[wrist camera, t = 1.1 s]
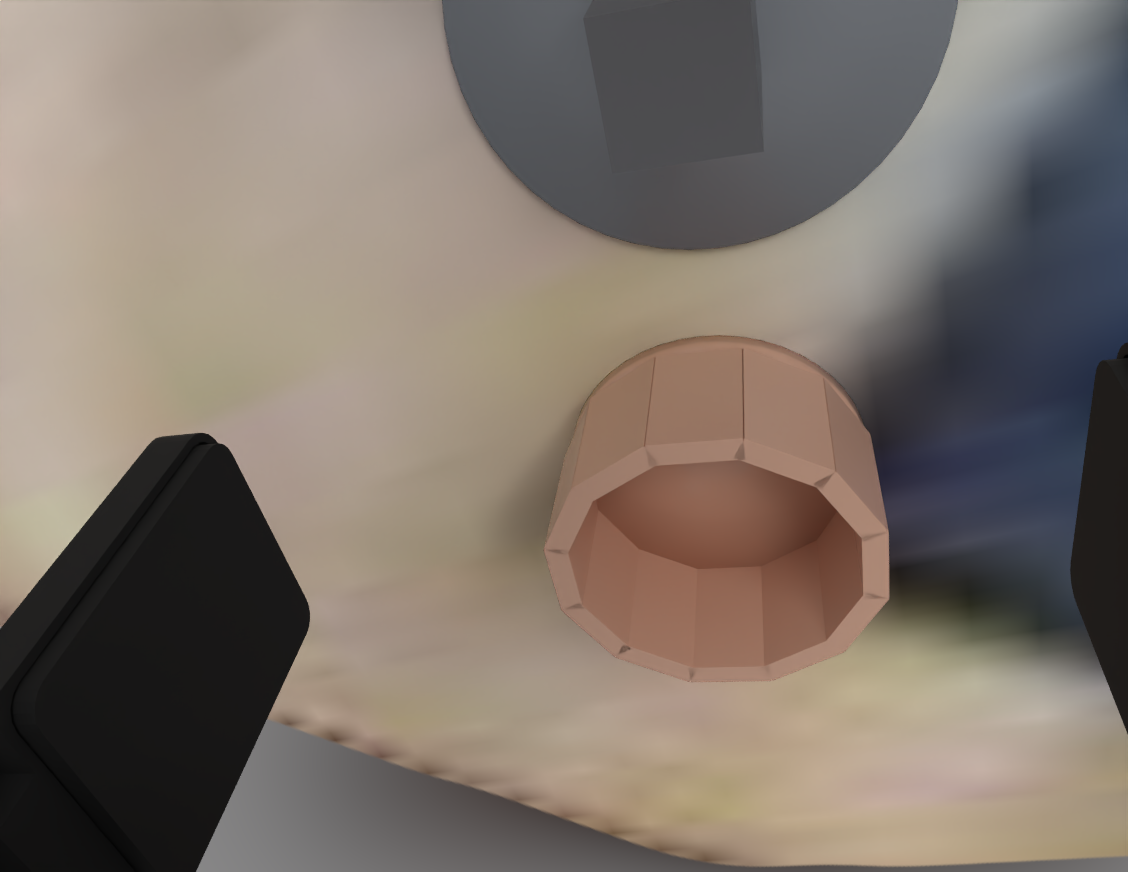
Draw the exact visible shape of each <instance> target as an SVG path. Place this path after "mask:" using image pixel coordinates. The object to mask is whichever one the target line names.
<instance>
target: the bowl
mask: <svg viewBox="0 0 1128 872" xmlns="http://www.w3.org/2000/svg"><path fill="white" fill-rule="evenodd" d="M544 553H545V556H546V560H547V563H548V567H549V570H550V573H551V577H552V580H553V584H554V587H555V590H556V594H557V597H558V601H559V604H560V607H561V610H562V611H563V612H564V613H565V614H566V615H567V616H568V617H570V618H571V619H572V620H573V621H574V622H575V623H576V624H578V625H579V626H580V627H581V628H582V629H583V630H584V631H586V632H587V633H588V634H589V635H590V636H591V637H592V638H593V639H595V640H596V641H597V642H598V643H599V644H600V645H601V646H603V647H604V648H605V649H606V650H607V651H608V652H609V653H611V654H612V655H613V656H614V657H615V656H616V658H619V659H622V660H625V661H628V662H631V663H634V664H637V665H640V666H643V667H646V668H649V669H652V670H655V671H658V672H661V673H664V674H667V675H670V676H673V677H676V678H679V679H682V680H685V681H688V682H690V681H691V682H733V681H771V679H772V680H776V679H778V678H781V677H783V676H786V675H788V674H791V673H793V672H796V671H798V670H801V669H803V668H806V667H808V666H811V665H813V664H816V663H818V662H821V661H823V660H826V659H828V658H831V657H833V656H836V655H838V654H841V653H843V652H844V651H846V650H847V648H848V647H849V646H850V645H851V644H852V642H853V641H854V640H855V639H856V638H857V637H858V635H859V634H860V633H861V632H862V631H863V629H864V628H865V627H866V626H867V625H868V623H869V622H870V621H871V620H872V619H873V617H874V616H875V615H876V614H877V613H878V611H879V610H880V609H881V608H882V607H883V606H884V604H885V603H886V602H887V601H888V600H889V531H888V526H887V520H886V515H885V510H884V504H883V499H882V494H881V488H880V483H879V478H878V472H877V467H876V462H875V456H874V451H873V446H872V440H871V435H870V433H869V432H868V431H867V429H866V428H865V427H864V425H863V421H862V418H861V416H860V414H859V412H858V410H857V408H856V406H855V404H854V402H853V401H852V399H851V398H850V397H849V395H848V394H847V392H846V391H845V389H844V388H843V387H842V386H841V385H840V384H839V383H838V382H837V381H836V380H835V379H834V378H833V377H832V376H831V375H830V374H828V373H827V372H826V371H825V370H823V369H822V368H821V367H820V366H818V365H817V364H815V363H813V362H812V361H810V360H808V359H807V358H805V357H803V356H802V355H800V354H798V353H795V352H793V351H791V350H788V349H786V348H784V347H781V346H778V345H775V344H771V343H768V342H765V341H761V340H755V339H750V338H744V337H734V336H700V337H693V338H687V339H681V340H676V341H673V342H669V343H665V344H662V345H659V346H656V347H654V348H651V349H649V350H646V351H644V352H642V353H640V354H638V355H636V356H634V357H633V358H631V359H629V360H627V361H625V362H624V363H623V364H621V365H620V366H619V367H617V368H616V369H615V370H613V371H612V372H611V373H609V374H608V375H607V376H606V377H605V378H604V379H603V380H602V381H601V382H600V383H599V384H598V385H597V387H596V388H595V389H594V391H593V392H592V393H591V395H590V396H589V397H588V399H587V401H586V403H585V405H584V407H583V408H582V410H581V412H580V415H579V418H578V421H577V424H576V427H575V432H574V436H573V438H572V441H571V443H570V445H569V448H568V450H567V452H566V455H565V457H564V462H563V466H562V471H561V475H560V479H559V484H558V488H557V493H556V497H555V501H554V506H553V510H552V515H551V519H550V524H549V528H548V532H547V537H546V541H545V546H544Z"/></svg>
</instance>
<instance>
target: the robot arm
mask: <svg viewBox="0 0 1128 872" xmlns="http://www.w3.org/2000/svg"><path fill="white" fill-rule="evenodd" d="M1070 572H1071V583H1072V589H1073V594H1074V597H1075V601H1076V604H1077V606H1078V609H1079V611H1080V614H1081V616H1082V619H1083V621H1084V624H1085V626H1086V629H1087V632H1088V634H1089V637H1090V639H1091V642H1092V644H1093V647H1094V649H1095V652H1096V654H1097V657H1098V659H1099V662H1100V665H1101V667H1102V670H1103V672H1104V675H1105V677H1106V680H1107V682H1108V685H1109V687H1110V690H1111V693H1112V695H1113V698H1114V700H1115V703H1116V705H1117V708H1118V710H1119V713H1120V715H1121V718H1122V721H1123V723H1124V726H1125V728H1126V731H1127V733H1128V343H1125V344H1124V345H1122V346H1121V348H1120V350H1119V352H1118V355H1117V359H1113V360H1103V361H1101V362H1100V363H1099V365H1098V367H1097V370H1096V375H1095V382H1094V390H1093V398H1092V405H1091V413H1090V420H1089V428H1088V436H1087V443H1086V451H1085V458H1084V466H1083V473H1082V481H1081V489H1080V496H1079V504H1078V511H1077V519H1076V527H1075V534H1074V542H1073V549H1072V557H1071V568H1070ZM309 622H310V611H309V605H308V602H307V600H306V598H305V596H304V594H303V592H302V590H301V588H300V586H299V584H298V582H297V580H296V578H295V576H294V574H293V572H292V570H291V568H290V566H289V564H288V563H287V561H286V559H285V557H284V555H283V553H282V551H281V549H280V547H279V545H278V543H277V541H276V539H275V537H274V535H273V533H272V531H271V529H270V527H269V525H268V523H267V521H266V519H265V518H264V516H263V514H262V512H261V510H260V508H259V506H258V504H257V502H256V500H255V498H254V496H253V494H252V492H251V490H250V488H249V486H248V484H247V482H246V480H245V478H244V476H243V474H242V473H241V471H240V469H239V467H238V465H237V463H236V461H235V459H234V457H233V455H232V453H231V452H230V450H229V449H228V448H227V447H226V446H225V445H223V444H219V443H217V442H216V440H215V439H214V438H213V437H211V436H210V435H209V434H205V433H194V434H184V435H174V436H163V437H159V438H156V439H155V440H153V441H152V442H151V443H150V444H149V445H148V446H147V448H146V449H145V450H144V451H143V453H142V454H141V455H140V456H139V458H138V459H137V460H136V461H135V462H134V464H133V465H132V466H131V467H130V469H129V470H128V471H127V472H126V474H125V475H124V476H123V477H122V479H121V480H120V481H119V482H118V484H117V485H116V486H115V487H114V489H113V490H112V491H111V492H110V494H109V495H108V496H107V497H106V498H105V500H104V501H103V502H102V503H101V505H100V506H99V507H98V508H97V510H96V511H95V512H94V513H93V515H92V516H91V517H90V518H89V520H88V521H87V522H86V523H85V525H84V526H83V527H82V528H81V530H80V531H79V532H78V533H77V534H76V536H75V537H74V538H73V539H72V541H71V542H70V543H69V544H68V546H67V547H66V548H65V549H64V551H63V552H62V553H61V554H60V556H59V557H58V558H57V559H56V561H55V562H54V563H53V564H52V566H51V567H50V568H49V569H48V571H47V572H46V573H45V574H44V575H43V577H42V578H41V579H40V580H39V582H38V583H37V584H36V585H35V587H34V588H33V589H32V590H31V592H30V593H29V594H28V595H27V597H26V598H25V599H24V600H23V602H22V603H21V604H20V605H19V607H18V608H17V609H16V610H15V611H14V613H13V614H12V615H11V616H10V618H9V619H8V620H7V621H6V623H5V624H4V625H3V626H2V628H1V629H0V872H196V870H197V868H198V866H199V864H200V862H201V859H202V857H203V855H204V853H205V851H206V849H207V847H208V844H209V842H210V840H211V838H212V836H213V834H214V832H215V829H216V827H217V825H218V823H219V821H220V819H221V817H222V814H223V812H224V810H225V808H226V806H227V804H228V801H229V799H230V797H231V795H232V793H233V791H234V789H235V786H236V784H237V782H238V780H239V778H240V776H241V773H242V771H243V769H244V767H245V765H246V763H247V761H248V758H249V756H250V754H251V752H252V750H253V748H254V746H255V743H256V741H257V739H258V737H259V735H260V733H261V730H262V728H263V726H264V724H265V722H266V720H267V718H268V715H269V713H270V711H271V709H272V707H273V705H274V703H275V700H276V698H277V696H278V694H279V692H280V690H281V688H282V685H283V683H284V681H285V679H286V677H287V675H288V673H289V670H290V668H291V666H292V664H293V662H294V660H295V657H296V655H297V653H298V651H299V649H300V647H301V645H302V642H303V640H304V638H305V636H306V634H307V631H308V628H309Z"/></svg>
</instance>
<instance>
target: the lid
mask: <svg viewBox="0 0 1128 872" xmlns="http://www.w3.org/2000/svg"><path fill="white" fill-rule="evenodd" d="M442 3H443V14H444V26H445V32H446V37H447V42H448V47H449V52H450V56H451V61H452V64H453V67H454V70H455V73H456V76H457V79H458V82H459V85H460V88H461V91H462V94H463V96H464V98H465V100H466V102H467V104H468V106H469V109H470V111H471V113H472V115H473V117H474V119H475V121H476V123H477V124H478V126H479V128H480V129H481V131H482V132H483V134H484V136H485V137H486V139H487V140H488V142H489V144H490V145H491V147H492V148H493V149H494V151H495V152H496V153H497V154H498V156H499V157H500V158H501V159H502V160H503V162H504V163H505V164H506V165H507V167H508V168H509V169H510V170H511V171H512V172H513V173H514V174H515V175H516V176H517V177H518V178H519V179H520V180H521V181H522V182H523V183H524V184H525V185H526V186H527V187H528V188H529V189H530V190H531V191H532V192H533V193H535V194H536V195H537V196H539V197H540V198H541V199H543V200H544V201H545V202H546V203H548V204H549V205H550V206H552V207H553V208H554V209H556V210H558V211H559V212H561V213H563V214H564V215H566V216H568V217H569V218H571V219H573V220H574V221H576V222H578V223H579V224H582V225H584V226H586V227H589V228H591V229H593V230H595V231H598V232H600V233H602V234H604V235H607V236H611V237H614V238H617V239H620V240H624V241H627V242H630V243H634V244H640V245H646V246H651V247H657V248H666V249H684V250H694V249H710V248H721V247H727V246H732V245H737V244H743V243H748V242H751V241H755V240H758V239H761V238H764V237H768V236H771V235H774V234H777V233H779V232H781V231H784V230H786V229H788V228H791V227H793V226H795V225H797V224H800V223H802V222H804V221H806V220H808V219H809V218H811V217H813V216H814V215H816V214H818V213H819V212H821V211H823V210H825V209H826V208H828V207H830V206H831V205H833V204H834V203H835V202H837V201H838V200H839V199H841V198H842V197H843V196H845V195H846V194H847V193H849V192H850V191H851V190H853V189H854V188H855V187H857V186H858V185H859V184H860V183H861V182H862V181H863V180H864V179H865V178H866V177H867V176H868V175H869V174H870V173H871V172H872V171H873V170H874V169H875V168H877V167H878V166H879V165H880V164H881V163H882V161H883V160H884V159H885V158H886V157H887V155H888V154H889V153H890V152H891V151H892V149H893V148H894V147H895V146H896V145H897V143H898V142H899V141H900V140H901V139H902V137H903V136H904V134H905V133H906V131H907V130H908V128H909V127H910V125H911V123H912V122H913V120H914V119H915V117H916V116H917V114H918V113H919V111H920V110H921V108H922V106H923V104H924V102H925V100H926V98H927V96H928V94H929V92H930V90H931V88H932V86H933V84H934V82H935V80H936V78H937V75H938V73H939V70H940V67H941V64H942V61H943V58H944V56H945V53H946V50H947V47H948V44H949V41H950V37H951V32H952V28H953V23H954V19H955V14H956V10H957V4H958V0H442Z"/></svg>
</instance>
